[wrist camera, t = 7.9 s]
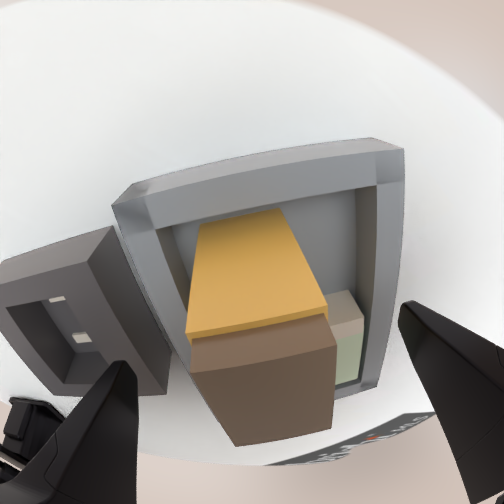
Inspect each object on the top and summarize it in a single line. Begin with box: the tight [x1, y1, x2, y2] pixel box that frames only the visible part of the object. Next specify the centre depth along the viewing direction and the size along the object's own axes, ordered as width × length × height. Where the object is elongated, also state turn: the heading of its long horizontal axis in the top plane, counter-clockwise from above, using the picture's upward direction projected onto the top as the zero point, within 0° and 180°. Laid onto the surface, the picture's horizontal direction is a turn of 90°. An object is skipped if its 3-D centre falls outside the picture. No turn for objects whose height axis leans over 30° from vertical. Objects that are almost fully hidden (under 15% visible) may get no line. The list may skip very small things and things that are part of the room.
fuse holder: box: [0, 226, 171, 397], centre depth 12 cm, size 8×8×3 cm
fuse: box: [324, 290, 364, 385], centre depth 14 cm, size 5×3×2 cm, turn 10°
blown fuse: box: [185, 208, 337, 447], centre depth 10 cm, size 5×3×7 cm
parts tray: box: [111, 138, 405, 422], centre depth 13 cm, size 14×10×2 cm
